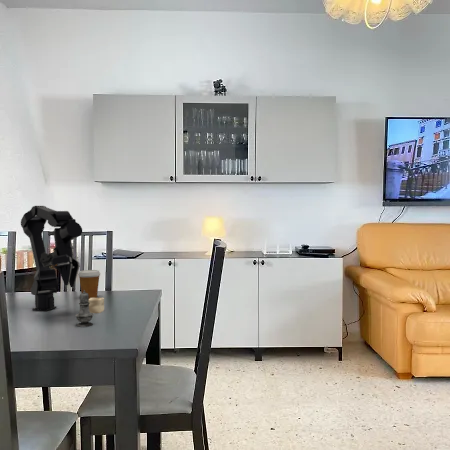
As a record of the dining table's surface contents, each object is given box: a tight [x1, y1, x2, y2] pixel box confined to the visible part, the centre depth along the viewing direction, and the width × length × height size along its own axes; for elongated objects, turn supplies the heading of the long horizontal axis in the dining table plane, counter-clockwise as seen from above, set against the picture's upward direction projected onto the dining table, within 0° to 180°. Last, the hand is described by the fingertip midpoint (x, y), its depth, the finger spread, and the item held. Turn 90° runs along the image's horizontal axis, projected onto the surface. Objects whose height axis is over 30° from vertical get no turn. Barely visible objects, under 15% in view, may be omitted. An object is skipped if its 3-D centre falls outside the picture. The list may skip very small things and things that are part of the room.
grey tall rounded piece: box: [75, 290, 94, 328], centre depth 158 cm, size 6×6×12 cm
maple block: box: [89, 297, 105, 314], centre depth 178 cm, size 5×5×5 cm
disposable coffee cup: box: [77, 269, 101, 299], centre depth 205 cm, size 10×10×12 cm
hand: (69, 286), depth 167 cm, fingers open, 9 cm apart
